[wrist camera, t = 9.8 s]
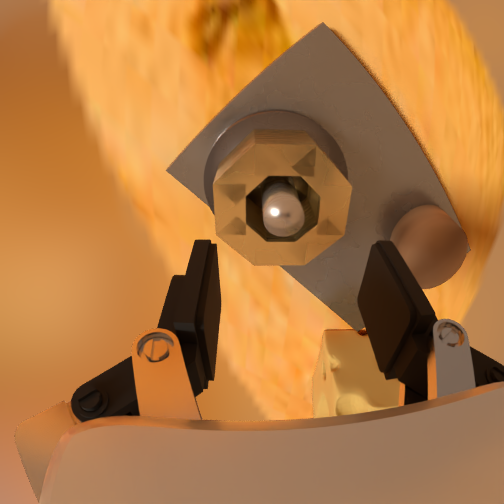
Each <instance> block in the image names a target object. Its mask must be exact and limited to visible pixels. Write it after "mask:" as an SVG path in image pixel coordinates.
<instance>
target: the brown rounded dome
mask: <svg viewBox="0 0 504 504" xmlns="http://www.w3.org/2000/svg"><path fill="white" fill-rule="evenodd" d="M390 241H392V242H393V243H394V245H395V246H396V248H397V249H398V251H399V253H400V254H401V256H402V257H403V259H404V261H405V262H406V264H407V265H408V267H409V269H410V270H411V272H412V274H413V275H414V277H415V279H416V280H417V282H418V284H419V285H420V287H421V289H429V288H433V287H436V286H439V285H441V284H442V283H444V282H446V281H447V280H448V279H450V278H451V277H452V276H453V275H454V274H455V273H456V272H457V271H458V269H459V268H460V267H461V265H462V263H463V261H464V259H465V257H466V254H467V248H468V241H467V237H466V234H465V232H464V231H463V230H462V229H461V228H460V227H459V225H458V224H457V223H456V222H455V221H454V220H453V219H452V218H451V217H450V216H449V215H448V214H447V213H446V212H445V211H444V210H443V209H441V208H440V207H438V206H435V205H422V206H418V207H416V208H414V209H412V210H410V211H409V212H408V213H406V214H405V215H404V216H403V217H402V218H401V219H400V220H399V221H398V223H397V224H396V226H395V228H394V230H393V232H392V234H391V238H390Z"/></svg>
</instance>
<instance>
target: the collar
mask: <svg viewBox="0 0 504 504" xmlns="http://www.w3.org/2000/svg"><path fill="white" fill-rule="evenodd" d="M267 176H301V177H302V178H303V179H304V180H305V181H306V182H307V183H308V194H307V198H305V199H304V200H303V201H302V202H301V206H302V209H303V212H304V217H305V218H304V223H303V226H302V227H301V229H300V230H299V231H298V232H296V233H295V234H293V235H291V236H286V237H280V236H276V235H273V234H271V233H270V232H269V231H268V230H267V229H266V227H265V225H264V222H263V211H262V210H261V209H260V208H259V207H258V206H257V205H256V204H255V203H254V202H252V201H251V200H250V199H249V198H248V197H247V195H248V194H249V193H250V192H251V191H252V190H253V189H254V188H255V187H256V186H257V185H259V184H260V183H261V182H262V181H263V180H264V179H265V178H266V177H267ZM351 191H352V186H351V184H350V183H349V182H348V180H347V179H346V178H345V176H344V175H343V174H342V173H341V171H340V170H339V169H338V167H337V166H336V165H335V164H334V162H333V161H332V160H331V159H330V158H329V157H328V156H327V154H326V153H325V152H324V151H323V150H322V149H321V148H320V147H319V146H318V144H317V143H316V142H315V141H314V140H313V139H312V138H311V137H310V136H309V135H308V134H307V132H306V131H305V130H279V129H254V130H253V131H252V132H251V133H250V134H248V135H247V136H246V137H245V138H244V139H243V140H242V141H241V142H240V143H239V144H238V145H237V146H236V147H235V148H234V149H233V150H232V151H231V152H230V153H229V154H228V155H227V156H226V157H225V158H224V159H223V160H222V161H221V162H220V163H219V166H218V169H217V172H216V176H215V179H214V182H213V196H214V212H215V227H216V235H217V236H218V237H219V238H221V239H222V240H223V241H224V242H226V243H227V244H228V245H229V246H231V247H232V248H233V249H234V250H236V251H237V252H238V253H239V254H241V255H242V256H243V257H244V258H246V259H247V260H248V261H249V262H251V263H252V264H253V265H254V266H261V265H306V264H307V263H308V262H310V261H311V260H312V259H314V258H315V257H316V256H318V255H319V254H320V253H322V252H323V251H324V250H326V249H327V248H328V247H329V246H331V245H332V244H333V243H335V242H336V241H337V240H339V239H340V238H341V237H343V236H344V234H345V228H346V222H347V216H348V210H349V204H350V198H351Z"/></svg>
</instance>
